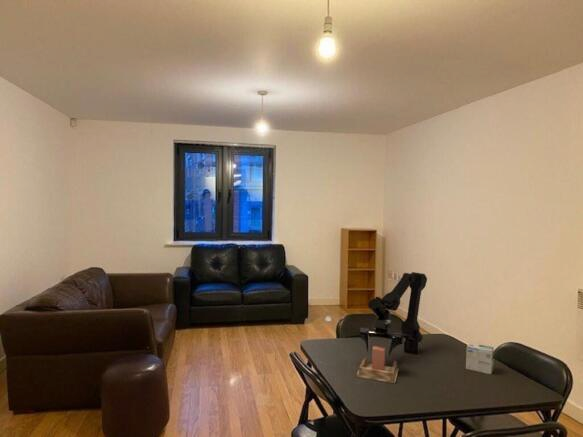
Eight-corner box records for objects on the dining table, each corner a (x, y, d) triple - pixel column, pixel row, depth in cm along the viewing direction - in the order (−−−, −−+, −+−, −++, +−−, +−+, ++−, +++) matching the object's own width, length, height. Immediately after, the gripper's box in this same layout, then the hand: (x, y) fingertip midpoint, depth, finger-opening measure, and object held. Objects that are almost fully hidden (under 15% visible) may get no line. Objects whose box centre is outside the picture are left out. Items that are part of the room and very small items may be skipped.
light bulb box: (493, 369, 182) (494, 346, 181) (491, 375, 176) (492, 350, 175) (467, 364, 187) (468, 341, 187) (465, 368, 182) (466, 345, 181)
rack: (398, 370, 177) (398, 361, 177) (395, 383, 164) (395, 373, 164) (362, 364, 183) (362, 355, 182) (356, 376, 169) (356, 367, 169)
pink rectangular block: (384, 370, 174) (385, 347, 174) (383, 373, 170) (384, 350, 170) (372, 368, 176) (373, 345, 176) (371, 371, 172) (372, 348, 172)
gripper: (360, 309, 179) (354, 341, 169) (403, 314, 173) (400, 348, 163) (362, 322, 187) (357, 353, 177) (404, 327, 181) (401, 360, 171)
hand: (378, 353), depth 172 cm, fingers open, 9 cm apart
